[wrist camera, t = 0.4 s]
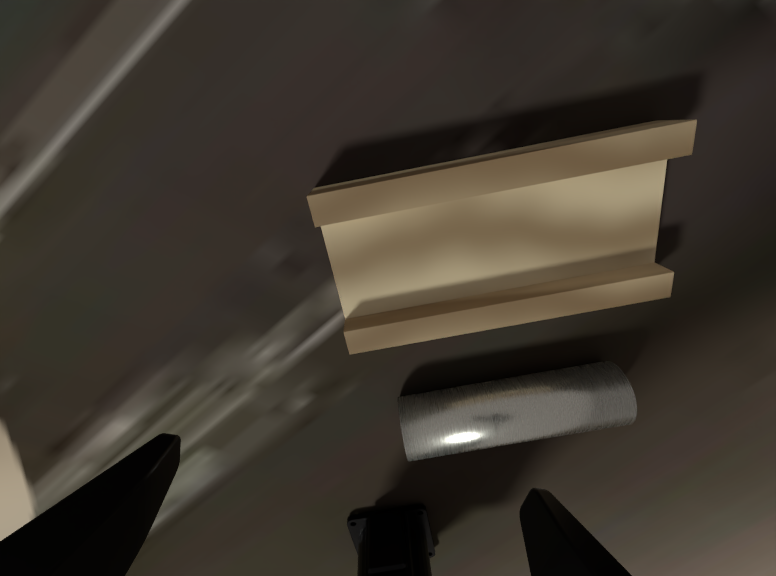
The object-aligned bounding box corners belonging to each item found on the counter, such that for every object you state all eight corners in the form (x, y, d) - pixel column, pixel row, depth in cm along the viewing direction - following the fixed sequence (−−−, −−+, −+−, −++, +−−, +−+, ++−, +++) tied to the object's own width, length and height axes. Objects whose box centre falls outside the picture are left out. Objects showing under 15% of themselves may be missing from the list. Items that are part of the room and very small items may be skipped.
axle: (599, 349, 25) (638, 384, 21) (598, 397, 26) (635, 438, 23) (396, 385, 25) (400, 425, 22) (405, 430, 27) (410, 475, 23)
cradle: (639, 279, 22) (670, 297, 20) (351, 331, 23) (349, 354, 21) (657, 120, 19) (696, 119, 16) (314, 187, 19) (306, 196, 17)
